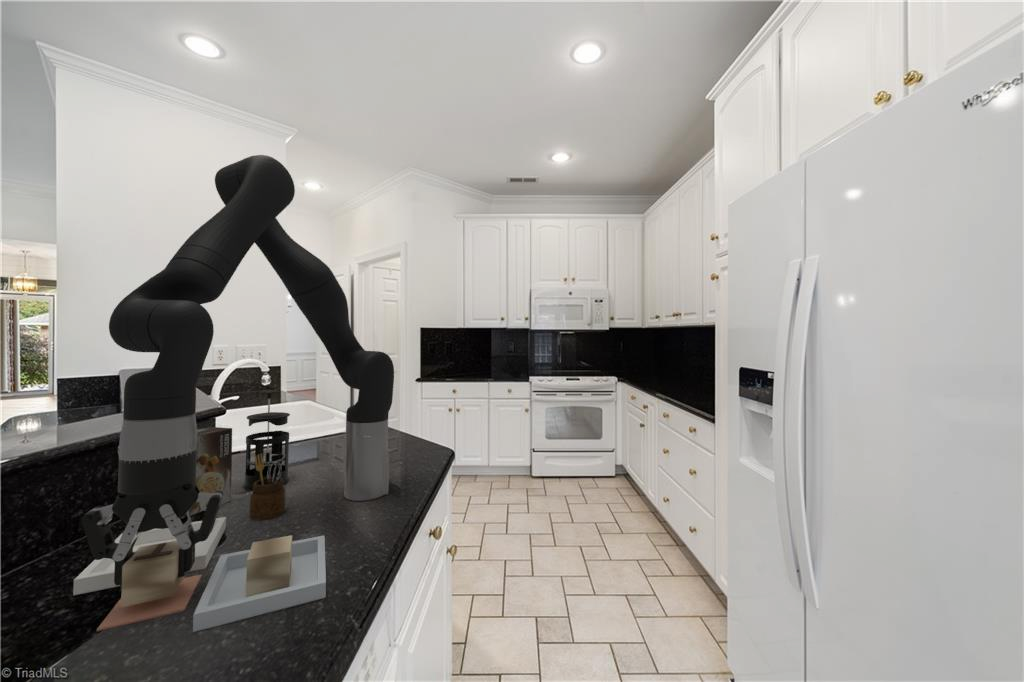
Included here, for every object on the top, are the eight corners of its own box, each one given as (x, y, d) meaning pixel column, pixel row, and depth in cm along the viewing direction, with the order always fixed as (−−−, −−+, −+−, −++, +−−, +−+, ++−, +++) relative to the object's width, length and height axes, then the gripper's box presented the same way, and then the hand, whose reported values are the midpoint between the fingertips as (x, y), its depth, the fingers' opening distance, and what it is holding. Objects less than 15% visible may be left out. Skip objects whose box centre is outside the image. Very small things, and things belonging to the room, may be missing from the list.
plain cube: (291, 568, 57) (292, 535, 57) (289, 587, 53) (290, 551, 53) (251, 577, 55) (252, 542, 55) (245, 597, 50) (246, 560, 50)
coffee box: (208, 498, 83) (210, 425, 84) (232, 501, 82) (234, 427, 82) (162, 516, 74) (164, 435, 75) (188, 520, 73) (190, 437, 73)
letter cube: (186, 574, 53) (187, 537, 53) (173, 595, 48) (175, 555, 48) (138, 584, 51) (139, 545, 51) (121, 607, 46) (122, 564, 46)
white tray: (225, 531, 69) (226, 516, 69) (205, 572, 57) (205, 554, 57) (121, 548, 63) (122, 533, 63) (73, 599, 50) (73, 579, 50)
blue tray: (324, 550, 63) (324, 535, 63) (325, 601, 51) (325, 582, 51) (220, 572, 57) (220, 555, 57) (192, 637, 44) (193, 614, 44)
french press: (278, 491, 88) (281, 393, 89) (233, 493, 86) (236, 393, 87) (297, 474, 100) (299, 387, 100) (258, 475, 98) (260, 387, 98)
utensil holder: (264, 525, 71) (266, 462, 72) (241, 519, 74) (243, 458, 74) (291, 512, 77) (293, 454, 77) (269, 507, 79) (271, 450, 79)
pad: (201, 579, 55) (201, 574, 55) (184, 615, 48) (184, 608, 48) (127, 595, 51) (127, 589, 51) (96, 636, 44) (96, 629, 44)
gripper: (232, 438, 56) (228, 552, 56) (99, 449, 50) (94, 578, 50) (220, 451, 50) (216, 581, 49) (65, 465, 43) (60, 615, 43)
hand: (155, 579), depth 50 cm, fingers closed on letter cube, 5 cm apart
